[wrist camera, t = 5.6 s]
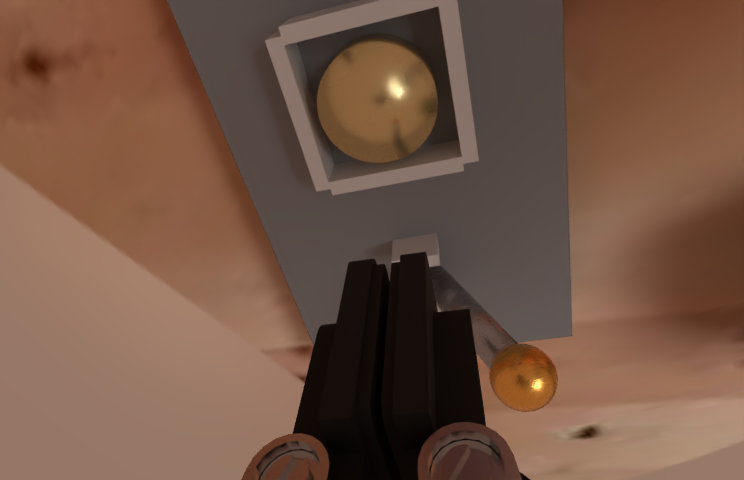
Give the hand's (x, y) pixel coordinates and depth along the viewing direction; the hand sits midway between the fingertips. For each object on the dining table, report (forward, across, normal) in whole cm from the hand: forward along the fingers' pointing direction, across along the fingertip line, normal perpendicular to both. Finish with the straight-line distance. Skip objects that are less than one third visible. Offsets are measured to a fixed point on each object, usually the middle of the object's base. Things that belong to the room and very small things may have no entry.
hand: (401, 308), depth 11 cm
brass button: (+13, +1, -1) cm, 14 cm away
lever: (+14, +1, +9) cm, 17 cm away
